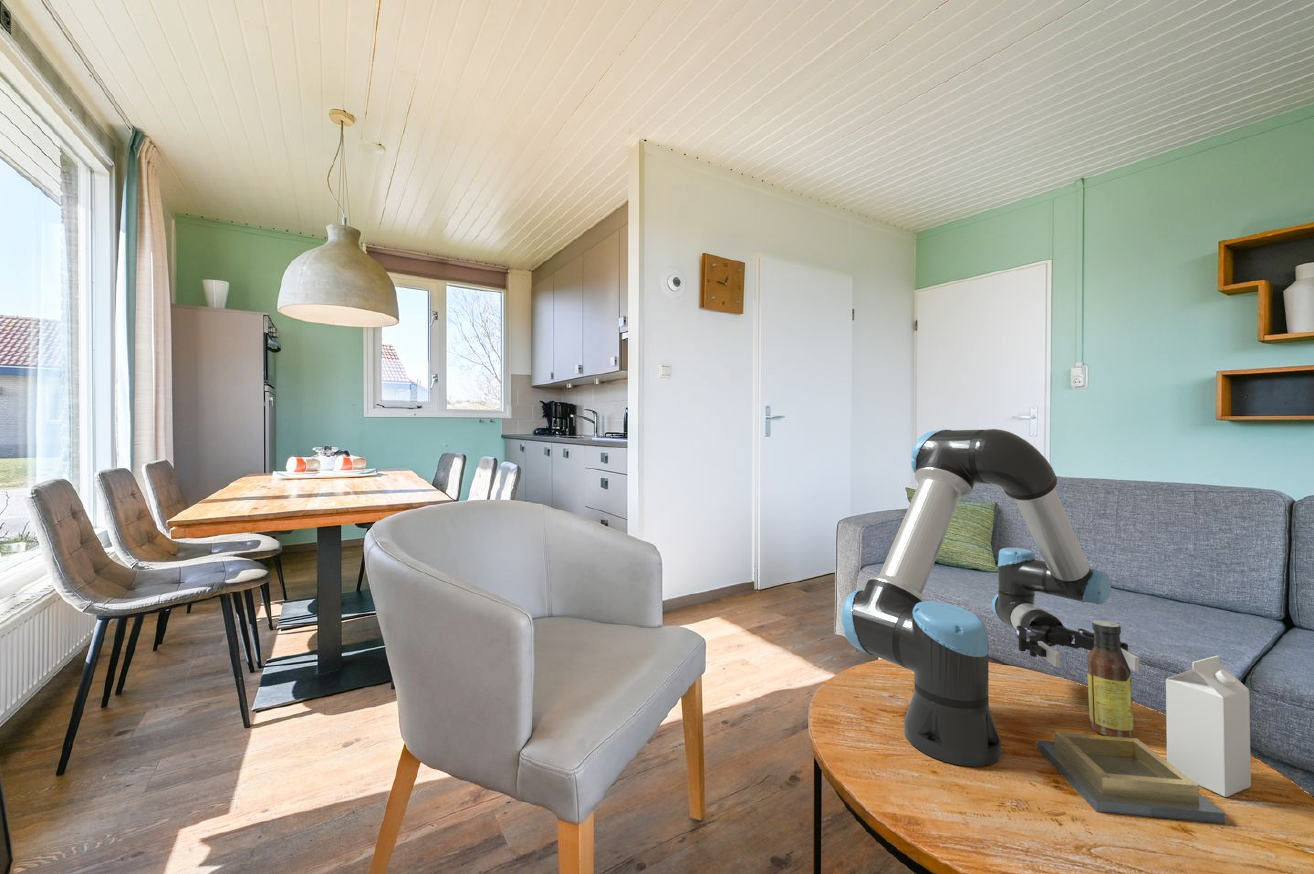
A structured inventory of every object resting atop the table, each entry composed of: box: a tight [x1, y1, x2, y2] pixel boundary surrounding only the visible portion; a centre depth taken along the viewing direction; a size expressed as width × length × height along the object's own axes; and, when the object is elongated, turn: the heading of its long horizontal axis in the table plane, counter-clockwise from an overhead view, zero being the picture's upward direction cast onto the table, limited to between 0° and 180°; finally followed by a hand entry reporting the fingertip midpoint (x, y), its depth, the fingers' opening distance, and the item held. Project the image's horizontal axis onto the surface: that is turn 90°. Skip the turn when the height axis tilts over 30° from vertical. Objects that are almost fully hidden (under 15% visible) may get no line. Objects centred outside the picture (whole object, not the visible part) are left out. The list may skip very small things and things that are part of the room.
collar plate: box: [1036, 731, 1226, 825], centre depth 84 cm, size 16×16×4 cm
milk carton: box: [1165, 655, 1252, 798], centre depth 85 cm, size 7×7×19 cm
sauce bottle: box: [1086, 619, 1135, 738], centre depth 99 cm, size 7×6×20 cm
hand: (1097, 662), depth 103 cm, fingers open, 13 cm apart
